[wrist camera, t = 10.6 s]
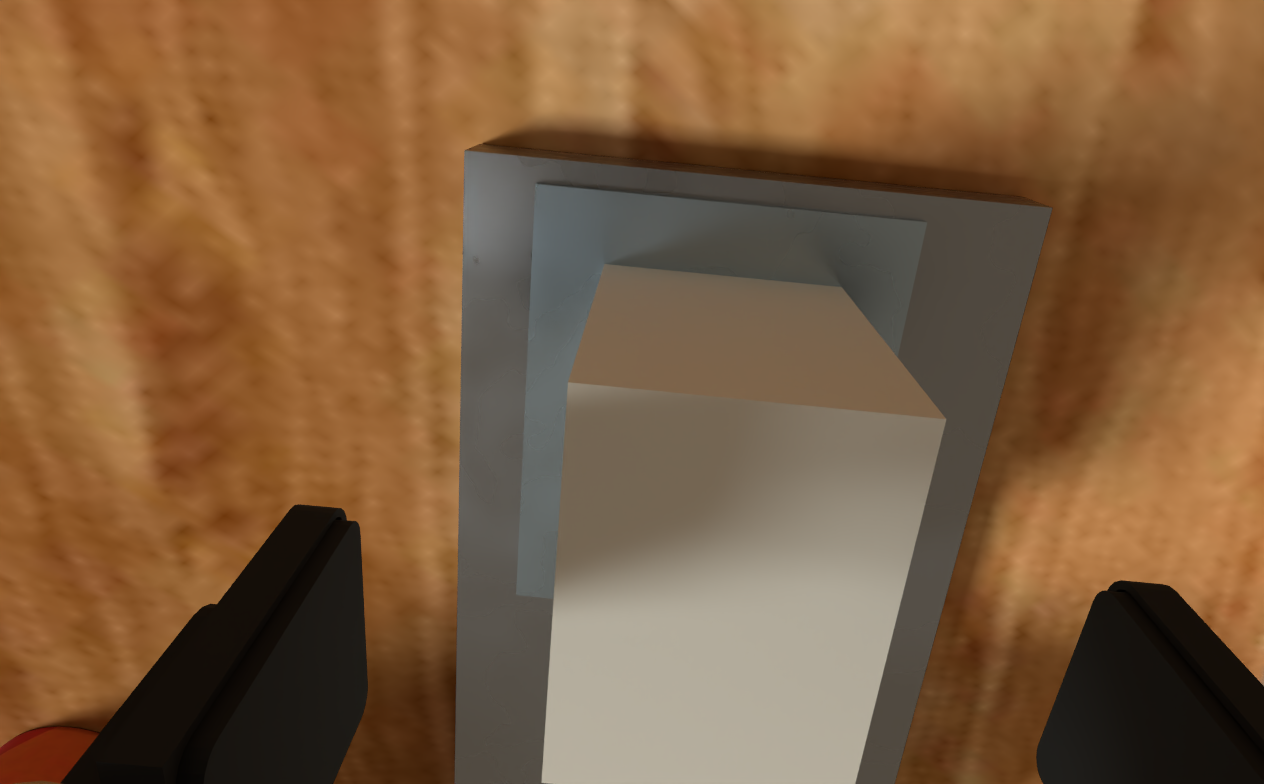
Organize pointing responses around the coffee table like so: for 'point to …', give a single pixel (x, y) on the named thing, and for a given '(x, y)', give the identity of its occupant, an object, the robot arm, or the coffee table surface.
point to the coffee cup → (43, 754)
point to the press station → (719, 245)
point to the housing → (729, 532)
